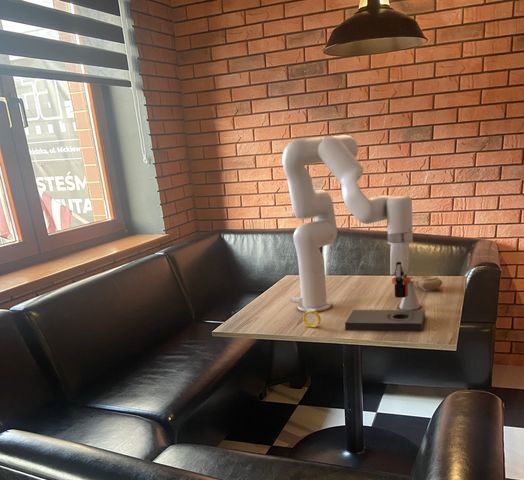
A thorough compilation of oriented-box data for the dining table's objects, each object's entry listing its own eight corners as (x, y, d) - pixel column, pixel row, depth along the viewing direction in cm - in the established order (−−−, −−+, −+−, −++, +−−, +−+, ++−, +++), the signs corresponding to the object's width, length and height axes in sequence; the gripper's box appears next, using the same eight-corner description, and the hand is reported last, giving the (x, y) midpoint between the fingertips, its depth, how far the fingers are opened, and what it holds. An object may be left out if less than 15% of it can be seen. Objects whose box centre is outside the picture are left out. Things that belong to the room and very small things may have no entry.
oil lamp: (407, 285, 219) (407, 273, 217) (444, 285, 213) (444, 273, 211) (402, 292, 210) (402, 280, 208) (441, 292, 204) (441, 279, 202)
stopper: (391, 298, 170) (391, 281, 168) (393, 293, 175) (393, 276, 173) (409, 298, 168) (409, 280, 166) (411, 293, 173) (411, 276, 171)
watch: (302, 327, 183) (301, 310, 181) (306, 324, 185) (305, 308, 183) (318, 328, 179) (317, 311, 177) (322, 326, 182) (320, 309, 179)
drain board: (345, 330, 175) (345, 322, 174) (353, 316, 187) (353, 309, 186) (421, 331, 167) (421, 323, 166) (424, 317, 179) (424, 310, 178)
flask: (420, 310, 186) (420, 282, 183) (399, 311, 188) (399, 283, 185) (419, 304, 193) (419, 277, 190) (398, 305, 195) (398, 278, 191)
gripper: (391, 233, 174) (392, 287, 180) (383, 243, 159) (385, 301, 165) (415, 232, 172) (415, 287, 178) (409, 241, 157) (410, 301, 163)
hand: (401, 293), depth 171 cm, fingers closed on stopper, 5 cm apart
